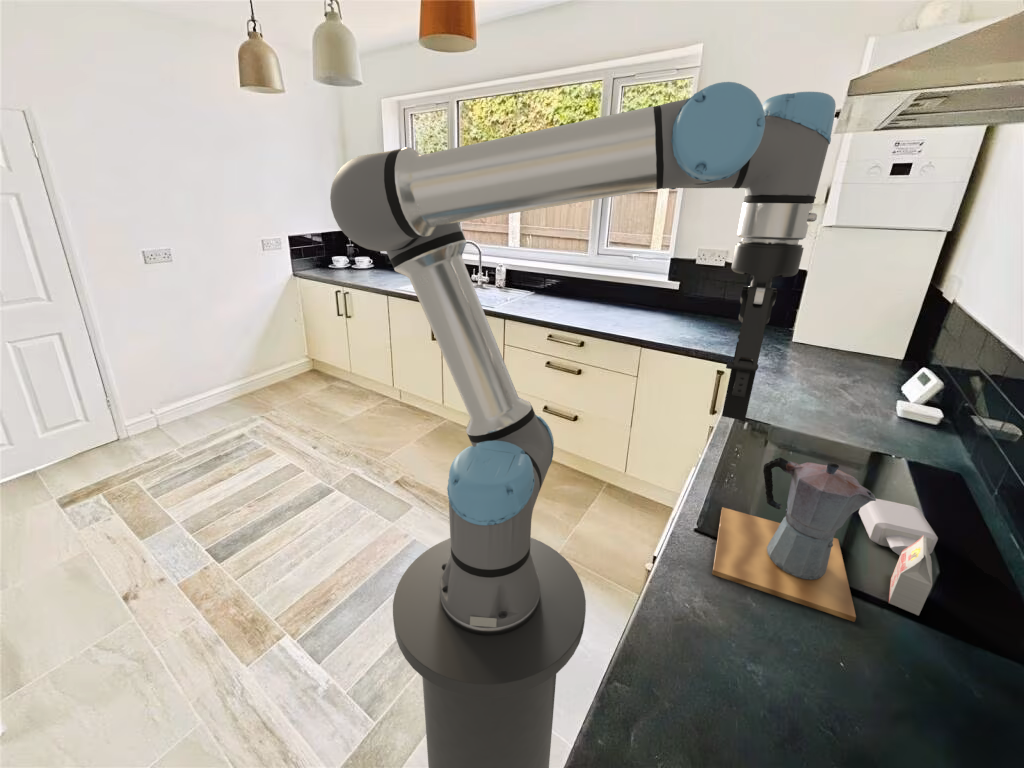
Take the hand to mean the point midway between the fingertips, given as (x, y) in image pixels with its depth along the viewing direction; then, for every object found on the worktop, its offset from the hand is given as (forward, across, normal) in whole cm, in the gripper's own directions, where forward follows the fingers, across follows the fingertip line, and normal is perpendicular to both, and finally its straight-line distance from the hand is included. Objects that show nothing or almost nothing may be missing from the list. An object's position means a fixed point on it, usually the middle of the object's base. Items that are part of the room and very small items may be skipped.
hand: (736, 400), depth 64 cm
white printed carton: (+33, +13, -30) cm, 46 cm away
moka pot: (+32, +12, -14) cm, 37 cm away
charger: (+33, +28, -32) cm, 54 cm away
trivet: (+33, +13, -12) cm, 37 cm away
